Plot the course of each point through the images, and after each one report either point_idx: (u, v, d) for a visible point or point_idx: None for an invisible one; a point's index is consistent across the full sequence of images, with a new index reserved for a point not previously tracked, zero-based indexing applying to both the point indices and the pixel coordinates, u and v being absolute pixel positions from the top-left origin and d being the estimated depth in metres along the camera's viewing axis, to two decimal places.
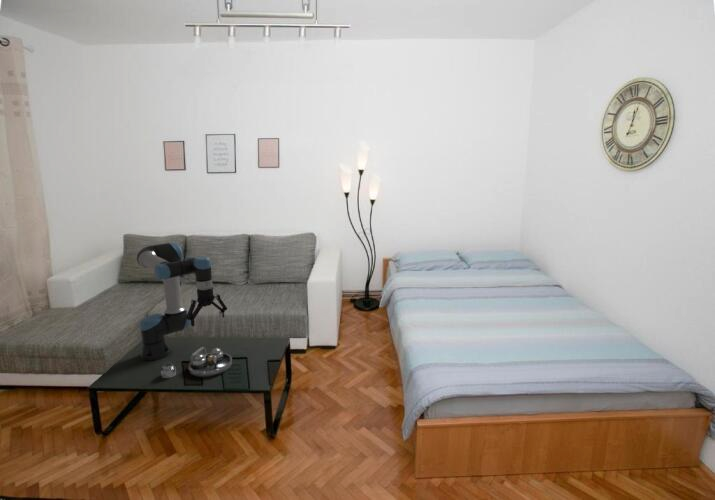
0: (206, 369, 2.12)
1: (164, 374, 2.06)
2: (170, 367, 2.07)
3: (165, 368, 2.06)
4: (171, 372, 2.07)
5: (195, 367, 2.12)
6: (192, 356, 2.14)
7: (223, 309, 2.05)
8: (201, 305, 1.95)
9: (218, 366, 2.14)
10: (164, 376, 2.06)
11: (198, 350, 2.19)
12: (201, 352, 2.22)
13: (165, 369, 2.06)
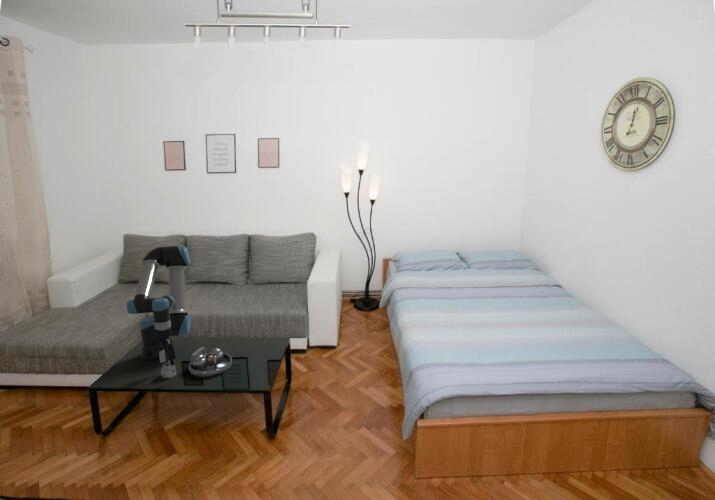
0: (206, 369, 2.12)
1: (164, 374, 2.06)
2: None
3: (165, 368, 2.06)
4: (171, 372, 2.07)
5: (195, 367, 2.12)
6: (192, 356, 2.14)
7: None
8: (159, 341, 2.06)
9: (218, 366, 2.14)
10: (164, 376, 2.06)
11: (198, 350, 2.19)
12: (201, 352, 2.22)
13: (165, 369, 2.06)
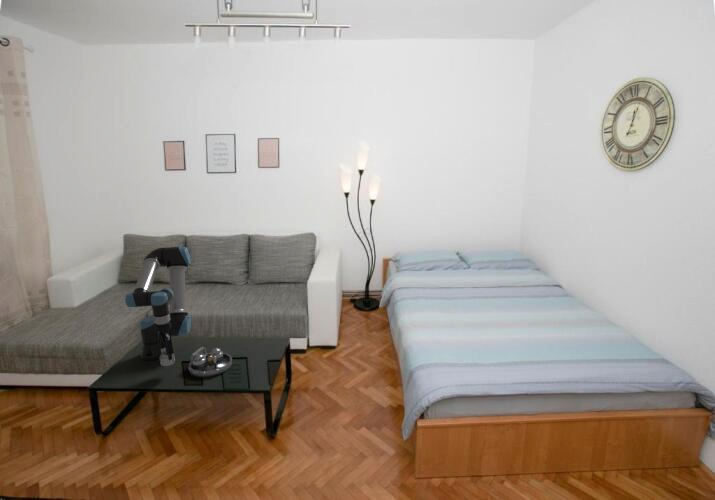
0: (206, 369, 2.12)
1: (163, 362, 2.05)
2: None
3: (164, 356, 2.05)
4: None
5: (195, 367, 2.12)
6: (192, 356, 2.14)
7: None
8: (159, 336, 2.06)
9: (218, 366, 2.14)
10: (163, 364, 2.05)
11: (198, 350, 2.19)
12: (201, 352, 2.22)
13: (164, 357, 2.05)
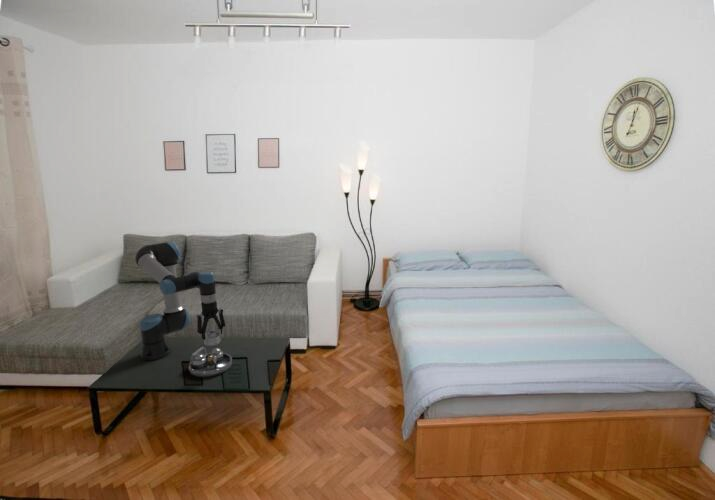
0: (206, 369, 2.12)
1: (218, 339, 2.08)
2: None
3: (216, 334, 2.08)
4: None
5: (195, 367, 2.12)
6: (192, 356, 2.14)
7: (221, 326, 2.11)
8: (207, 318, 2.04)
9: (218, 366, 2.14)
10: (218, 341, 2.09)
11: (198, 350, 2.19)
12: (201, 352, 2.22)
13: (216, 334, 2.08)
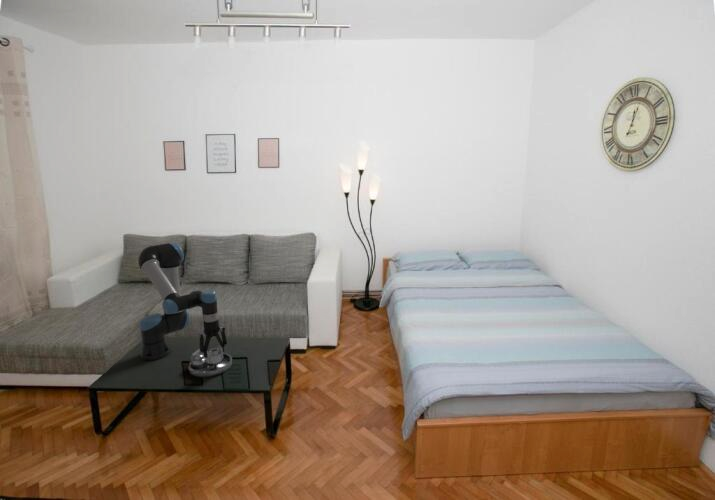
0: (206, 369, 2.12)
1: (220, 357, 2.11)
2: None
3: (218, 352, 2.10)
4: None
5: (195, 367, 2.12)
6: (192, 356, 2.14)
7: (223, 343, 2.13)
8: (209, 337, 2.06)
9: (218, 366, 2.14)
10: (220, 359, 2.11)
11: (198, 350, 2.19)
12: (201, 352, 2.22)
13: (218, 353, 2.11)
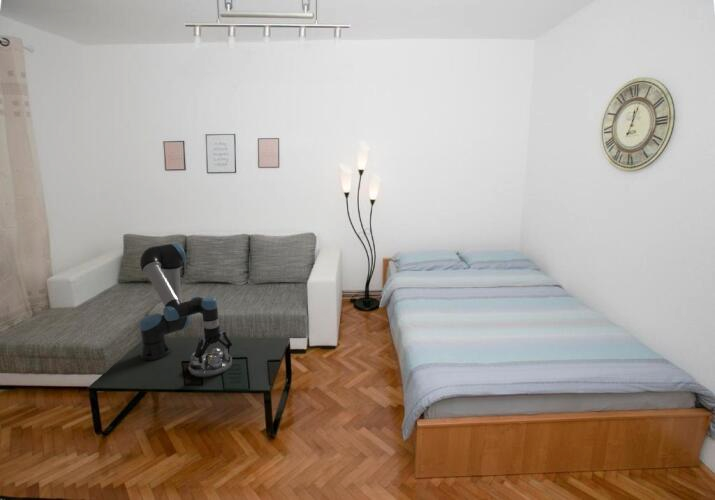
0: (206, 369, 2.12)
1: (221, 364, 2.12)
2: None
3: (218, 359, 2.12)
4: None
5: (195, 367, 2.12)
6: (192, 356, 2.14)
7: (228, 345, 2.16)
8: (208, 343, 2.06)
9: None
10: (221, 366, 2.12)
11: None
12: None
13: (219, 360, 2.12)
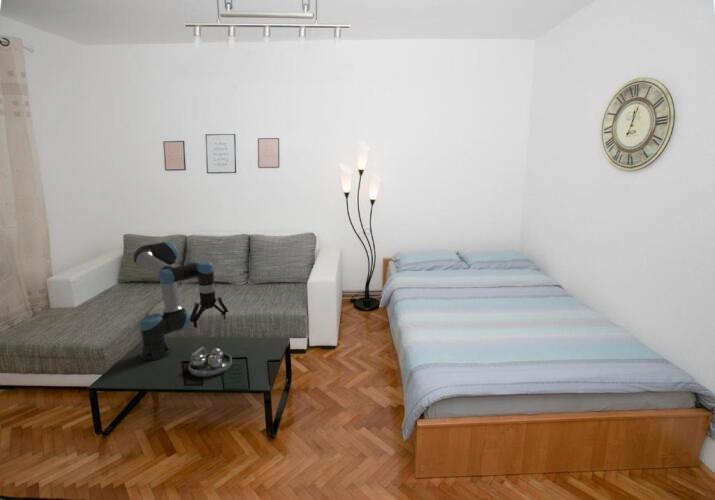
0: (206, 369, 2.12)
1: (221, 364, 2.12)
2: None
3: (218, 359, 2.12)
4: None
5: (195, 367, 2.12)
6: (192, 356, 2.14)
7: (224, 311, 2.14)
8: (204, 308, 2.04)
9: None
10: (221, 366, 2.12)
11: (198, 350, 2.19)
12: (201, 352, 2.22)
13: (219, 360, 2.12)
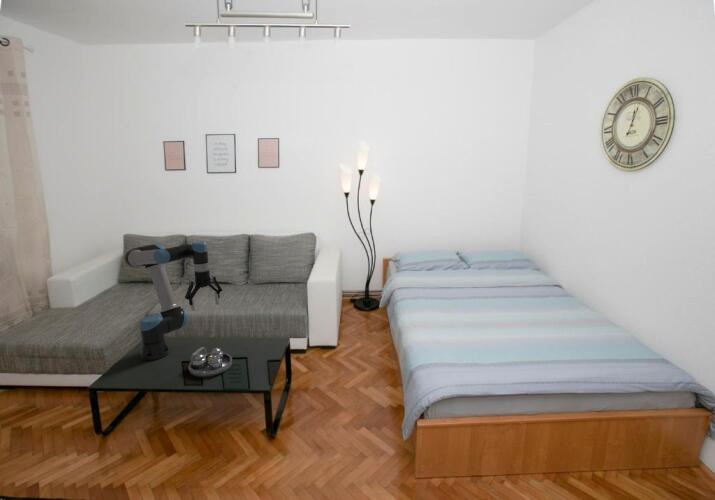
0: (206, 369, 2.12)
1: (221, 364, 2.12)
2: None
3: (218, 359, 2.12)
4: None
5: (195, 367, 2.12)
6: (192, 356, 2.14)
7: (219, 290, 2.22)
8: (198, 286, 2.12)
9: None
10: (221, 366, 2.12)
11: (198, 350, 2.19)
12: (201, 352, 2.22)
13: (219, 360, 2.12)
